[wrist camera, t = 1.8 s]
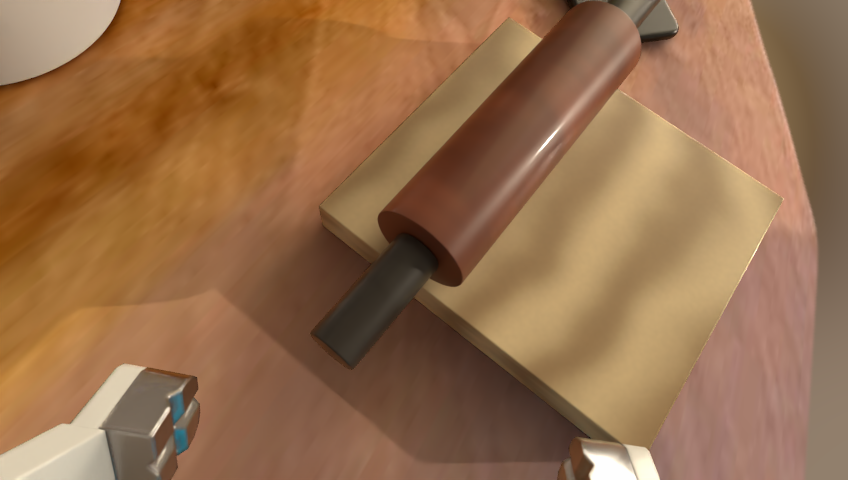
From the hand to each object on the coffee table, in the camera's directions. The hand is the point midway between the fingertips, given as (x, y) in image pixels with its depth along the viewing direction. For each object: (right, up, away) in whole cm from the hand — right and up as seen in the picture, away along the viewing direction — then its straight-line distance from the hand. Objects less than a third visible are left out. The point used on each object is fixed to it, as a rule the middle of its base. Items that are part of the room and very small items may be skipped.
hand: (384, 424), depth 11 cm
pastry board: (+8, +5, +20) cm, 22 cm away
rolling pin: (+6, +9, +18) cm, 21 cm away
